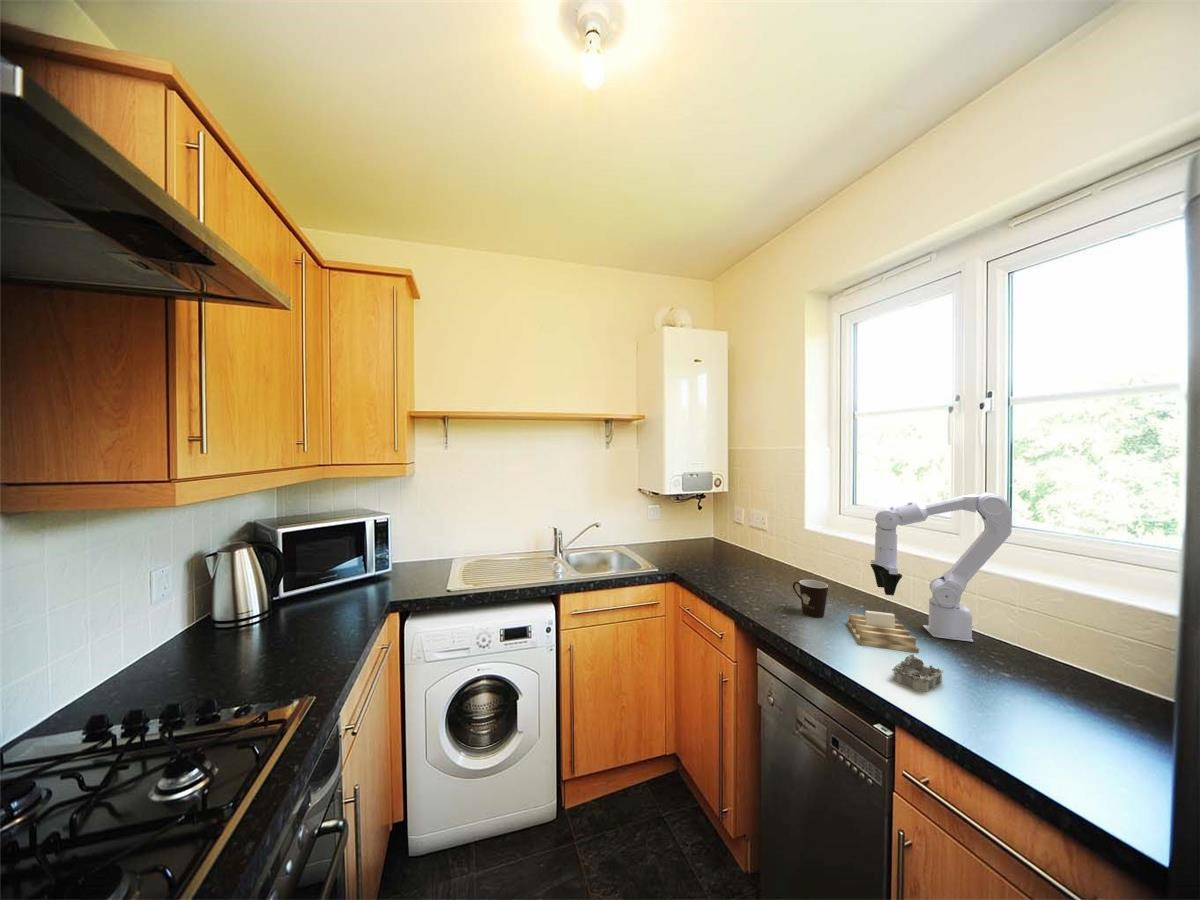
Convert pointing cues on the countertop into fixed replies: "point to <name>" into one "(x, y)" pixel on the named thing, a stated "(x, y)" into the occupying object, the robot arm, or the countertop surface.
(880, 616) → the white block
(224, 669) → the countertop surface
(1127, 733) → the countertop surface
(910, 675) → the ruined castle model
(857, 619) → the dish rack
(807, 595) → the coffee mug
